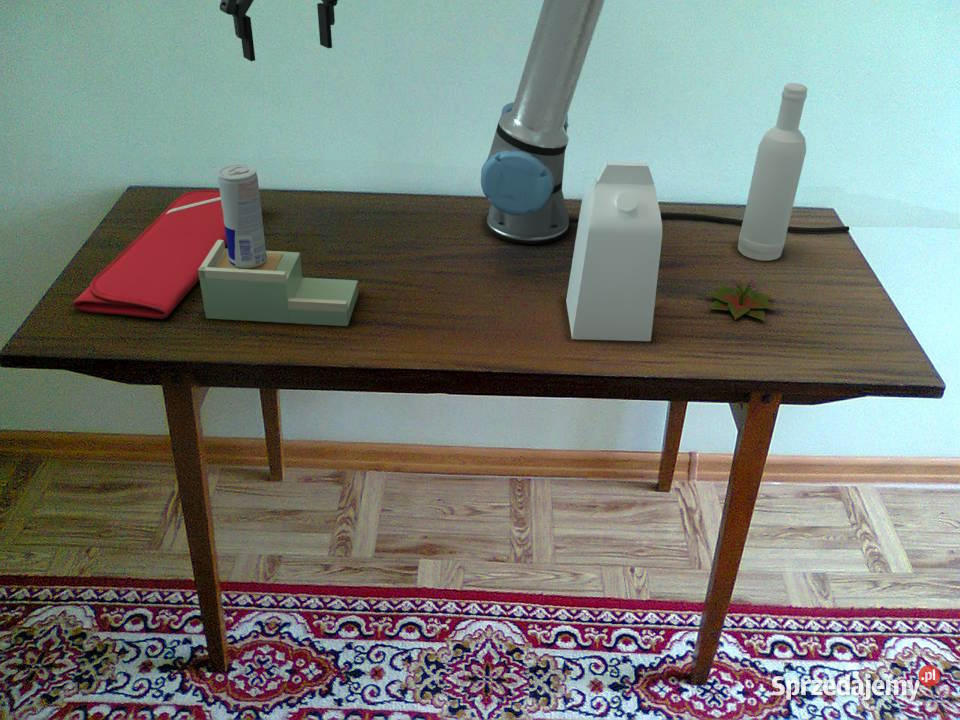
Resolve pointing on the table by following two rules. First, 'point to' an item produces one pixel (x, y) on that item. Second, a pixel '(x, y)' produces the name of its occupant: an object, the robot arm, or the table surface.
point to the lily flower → (741, 300)
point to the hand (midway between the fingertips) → (288, 52)
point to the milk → (616, 256)
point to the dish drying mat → (159, 261)
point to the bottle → (775, 180)
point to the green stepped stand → (273, 291)
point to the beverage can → (242, 215)
